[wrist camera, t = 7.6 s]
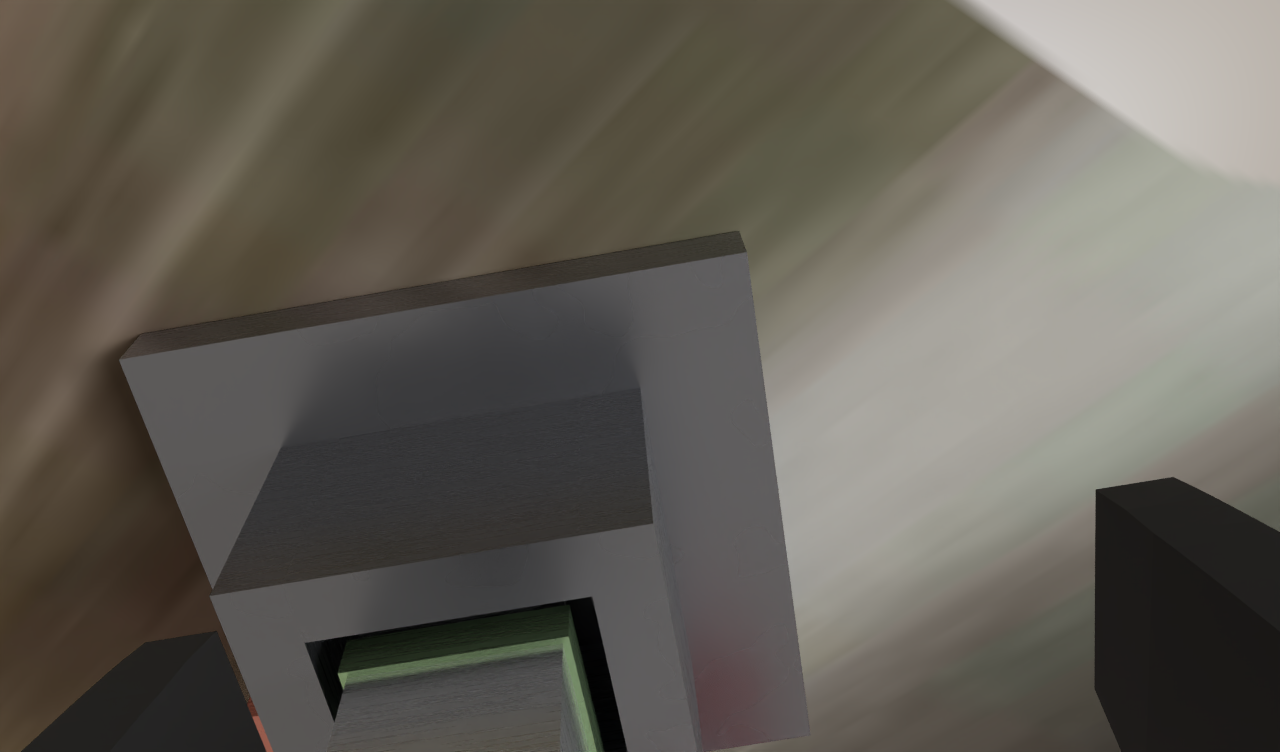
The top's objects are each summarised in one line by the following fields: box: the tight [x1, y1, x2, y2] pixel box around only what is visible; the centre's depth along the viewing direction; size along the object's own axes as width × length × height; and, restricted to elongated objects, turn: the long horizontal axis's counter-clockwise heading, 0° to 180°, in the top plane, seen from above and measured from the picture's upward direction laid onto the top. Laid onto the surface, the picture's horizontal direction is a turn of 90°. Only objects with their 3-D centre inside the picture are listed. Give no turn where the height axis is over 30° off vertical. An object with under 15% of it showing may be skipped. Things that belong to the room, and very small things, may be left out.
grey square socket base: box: [119, 231, 810, 752], centre depth 19 cm, size 10×10×5 cm
